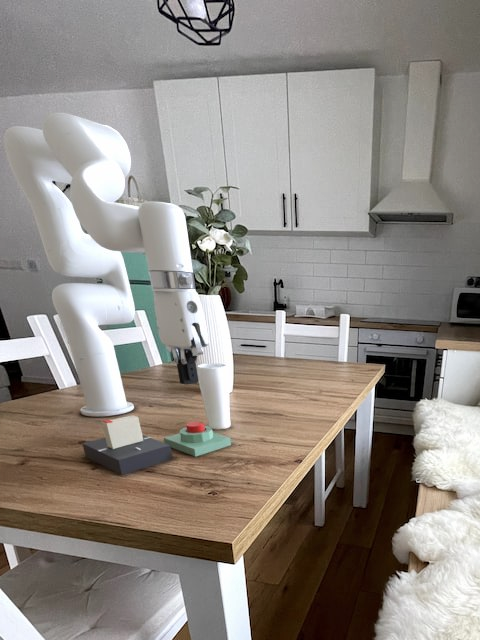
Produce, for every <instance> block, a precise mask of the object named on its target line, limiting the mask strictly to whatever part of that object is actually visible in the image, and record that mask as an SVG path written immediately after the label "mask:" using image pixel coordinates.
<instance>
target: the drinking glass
mask: <svg viewBox="0 0 480 640" xmlns="http://www.w3.org/2000/svg"><path fill="white" fill-rule="evenodd" d="M196 369H197V375H198V385H199V390H200V395H201V399H202V403H203V407H204V411H205V417H206V421H207V426H209V427H211V428H212V430H219V431H220V430H225V429H228V428H230V427H231V423H232V422H231V410H230V407H231V406H230V379H229V371H228V366H227V364H224V363H202V364H198V365H196Z"/></svg>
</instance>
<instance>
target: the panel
mask: <svg viewBox="0 0 480 640" xmlns="http://www.w3.org/2000/svg"><path fill="white" fill-rule="evenodd" d="M142 436H143V441H141V442H137V443H134V444H130V445H126V446H122V447H119V448H115V449H112V448H109V447H108V446H107V442H106V438H105V437H102V438H98V439H94V440H89V441H86V442H82V443H81V445H82V448H83V451H84V454H85V457H86V458H87V459H89V460H91V461H93V462H95V463H97V464H99V465H101V466H103V467H105V468H107V469H109V470H111V471H113V472H115V473H117V474H119V475H121V476H123V475H126V474H130V473H133V472H136V471H140V470H142V469H145V468H149V467H151V466H154V465H158V464H161V463H164V462H168V461H170V460H171V461H172V460H173V454H172V447H170V445H168V444H166V443H165V442H163V441H160V440H158V439H155V438H153V437H152V436H147V435H144V434H142Z"/></svg>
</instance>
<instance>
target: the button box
mask: <svg viewBox="0 0 480 640" xmlns="http://www.w3.org/2000/svg"><path fill="white" fill-rule="evenodd" d="M204 427H205V431H203V432H200V433H188V432H187V427H186V426H185V427H183V428H181V429H179V433H176V434H173V435H169V436H165V437H163V441H164V442H163V443H166V444H168V445H170V448H171V449H175V450H177V451H180V452H183V453H185V454H188V455H190V456H193V457H196V458H197V457H198V456H199V457H200V456H203V455H205V454H208V453H212V452H214V451H217V450H220V449H224V448H226V447H229V446H231V445H232V439H231V437H229V436H225V435H223V434H220V433H216V432H214V431H213V429H212V428H211V427H209V426H208V425H204Z"/></svg>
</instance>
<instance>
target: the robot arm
mask: <svg viewBox="0 0 480 640" xmlns="http://www.w3.org/2000/svg"><path fill="white" fill-rule="evenodd" d="M4 132H5V133H4V135H3V145H4V151H5V155H6V159H7V162H8V165H9V167H10V170H11V173H12V175H13V176H14V179H15V180H16V182H17V184H18V186H19V188H20V189H21V191H22V193H23V195H24V196H25V198H26V200H27V202H28V204H29V205H30V208H31V211H32V213H33V217H34V221H35V224H36V227H37V230H38V233H39V237H40V240H41V243H42V247H43V249H44V253H45V255H46V258H47V261H48V264H49V265H50V267H51V269H52V270H53V271H54V272H55V273H56V274H58V275H60V276H65V277H71V278H89V279H101V280H102V282H103V283H90V282H89V283H88V282H86V283H85V282H66V283H61V284H58V285H57V286H55V287H54V288H53V289H52V292H51V300H52V304H53V306H54V309H55V311H56V313H57V315H58V317H59V320H60V323H61V324H62V327H63V330H64V332H65V335H66V338H67V341H68V344H69V348H70V353H71V355H72V358H73V363H74V366H75V370H76V374H77V376H78V377H77V378H78V380H79V384H80V388H81V391H82V395H83V398H84V402H85V405H84V406H82V407H81V408H80V409H79V410H80V414H81V415H83V416H87V417H99V418H100V417H111V416H118V415H122V414H123V415H124V414H126V413H129V412H131V411H133V410H134V409H135V405H134V404H133V403H132V402H130V401H127V397H126V394H125V389H124V384H123V381H122V376H121V372H120V367H119V362H118V359H117V355H116V350H115V346H114V343H113V342H112V340H111V338H110V337H109V335H107V334H106V333H105V332H104V331H103V330H102V329H101V328H100V326H106V325H109V326H110V325H125V324H130V323H132V322H133V321H134V319H135V316H136V307H135V302H134V297H133V293H132V289H131V285H130V280H129V277H128V272H127V268H126V263H125V261H124V256H123V254H122V253H132V254H140V255H141V254H142V255H145V258H146V264H147V265H146V266H147V270H148V276H149V280H150V287H151V292H153V304H154V313H155V322H156V328H157V333H158V338H159V340H160V343H162V344H163V345H165V350H166V351H167V352H169V353H170V354H172V356H173V359H174V360H173V361H174V363H175V364H176V368H177V373H178V374H177V375H178V381H179V384H181V385H192V384H199V380H198V373H197V363H198V357H199V356H203V355H204V351H203V348H206V347H208V346H209V343H210V342H209V333H208V328H207V323H206V318H205V314H204V309H203V305H202V302H201V299H200V296H199V293H198V292H197V289H196V283H195V276H194V268H193V261H192V255H191V248H190V242H189V241H190V240H189V233H188V227H187V220H186V215H185V213H184V211H183V210H182V208H181V207H180V206H178V205H176V204H173V203H169V202H164V201H144V202H141V203H140V204H139V205H138V206H137V205H131V204H126V203H120V202H116V201H118V200H119V199H120V198H121V197H122V195H124V193H125V190H126V189H125V188H126V179H125V178H126V177H128V176H129V174H130V172H131V168H132V158H131V151H130V149H129V146H128V144H127V142H126V140H125V139H124V137H123V136H122V135H121V134H120V133H119V132H118V131H117V129H114V128H113V127H111V126H109V125H106V124H103V123H100V122H97V121H93V120H91V119H87V118H85V117H81V116H78V115H76V114H72V113H68V112H56V111H55V112H52V113H50V114H48V115H47V116H46V117H45V118H44V120H43V122H42V129H40V128H37V127H31V126H26V125H25V126H23V125H16V126H14V125H13V126H11V127H9V128H8V129H6V130H5V131H4ZM54 182H58V183H62V184H66V185H70V186H69V193H70V194H69V195H70V199H69V198H68V197H67V196H66V194H65V193H64V192H63V191H62V190H61V189H60V188H59V187H58V186H57V185H56V184H55V183H54ZM82 227H83V228H82ZM83 229H84V230H85V231H86V232H87V233H85V232H84V231H83Z"/></svg>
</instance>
